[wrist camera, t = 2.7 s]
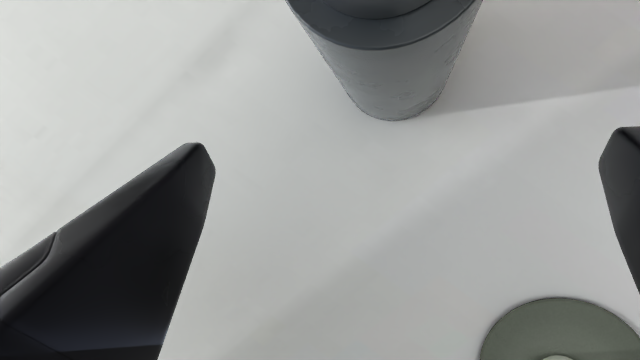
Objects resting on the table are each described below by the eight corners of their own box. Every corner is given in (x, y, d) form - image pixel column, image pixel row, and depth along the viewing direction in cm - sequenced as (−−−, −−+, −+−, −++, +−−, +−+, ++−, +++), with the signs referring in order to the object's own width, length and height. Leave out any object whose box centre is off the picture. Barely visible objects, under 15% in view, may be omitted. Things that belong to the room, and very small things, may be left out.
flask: (471, 75, 19) (601, -123, 6) (383, 141, 20) (349, 82, 7) (405, -5, 19) (408, -319, 7) (324, 63, 20) (203, -108, 8)
